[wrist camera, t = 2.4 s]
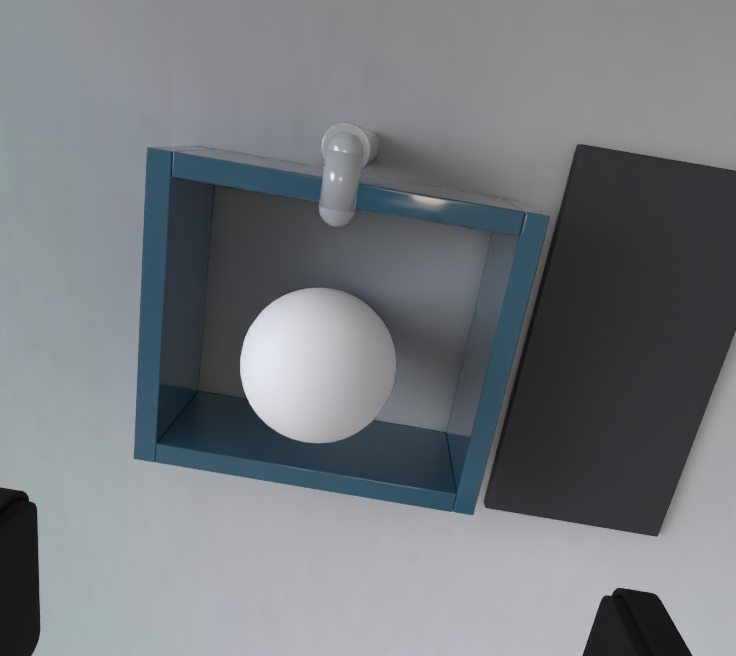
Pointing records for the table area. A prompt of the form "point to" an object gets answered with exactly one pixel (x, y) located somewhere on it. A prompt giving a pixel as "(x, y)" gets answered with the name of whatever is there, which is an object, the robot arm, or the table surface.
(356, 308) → the lightbulb
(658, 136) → the table surface
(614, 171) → the mat
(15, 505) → the robot arm
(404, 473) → the sink
